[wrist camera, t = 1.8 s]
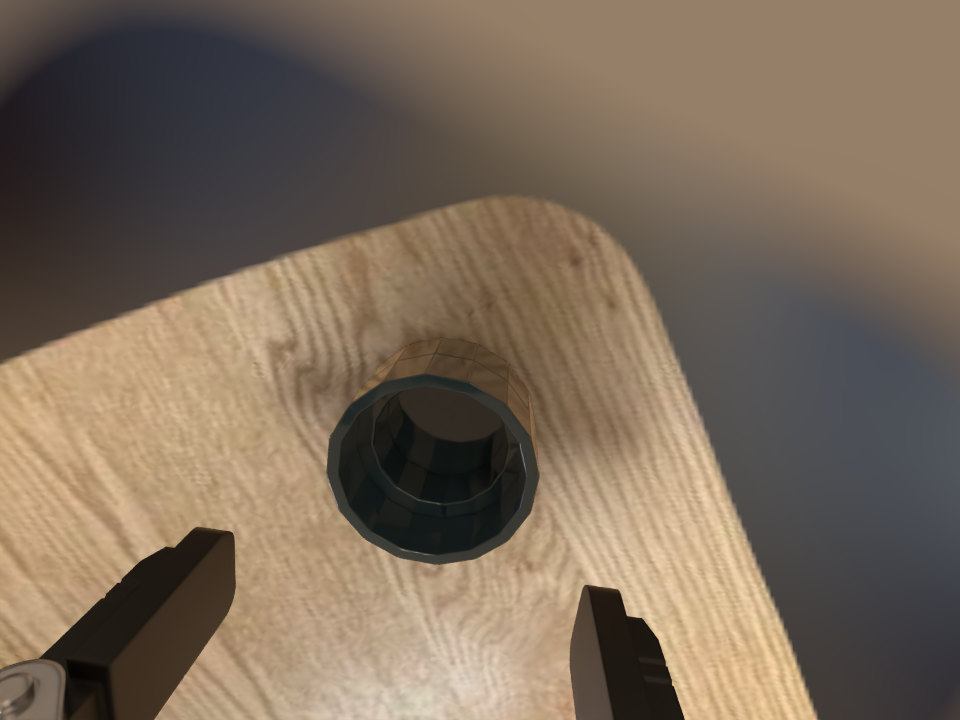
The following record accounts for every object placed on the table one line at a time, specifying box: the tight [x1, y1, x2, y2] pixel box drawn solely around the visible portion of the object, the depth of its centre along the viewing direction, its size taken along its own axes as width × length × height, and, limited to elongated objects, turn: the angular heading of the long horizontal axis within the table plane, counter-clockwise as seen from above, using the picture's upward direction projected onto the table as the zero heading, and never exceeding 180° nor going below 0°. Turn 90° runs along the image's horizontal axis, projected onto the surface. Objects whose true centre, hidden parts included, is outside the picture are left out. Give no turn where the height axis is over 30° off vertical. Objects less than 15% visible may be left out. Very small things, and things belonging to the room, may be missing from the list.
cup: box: [326, 338, 540, 565], centre depth 18 cm, size 7×7×4 cm
